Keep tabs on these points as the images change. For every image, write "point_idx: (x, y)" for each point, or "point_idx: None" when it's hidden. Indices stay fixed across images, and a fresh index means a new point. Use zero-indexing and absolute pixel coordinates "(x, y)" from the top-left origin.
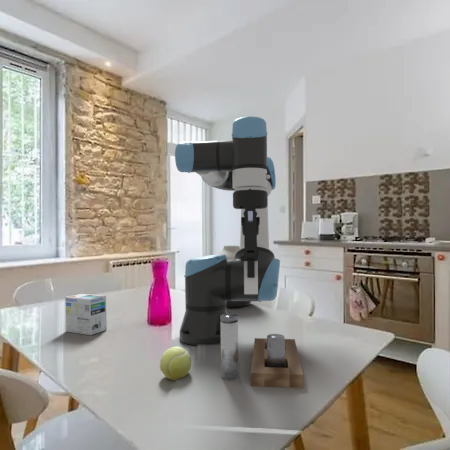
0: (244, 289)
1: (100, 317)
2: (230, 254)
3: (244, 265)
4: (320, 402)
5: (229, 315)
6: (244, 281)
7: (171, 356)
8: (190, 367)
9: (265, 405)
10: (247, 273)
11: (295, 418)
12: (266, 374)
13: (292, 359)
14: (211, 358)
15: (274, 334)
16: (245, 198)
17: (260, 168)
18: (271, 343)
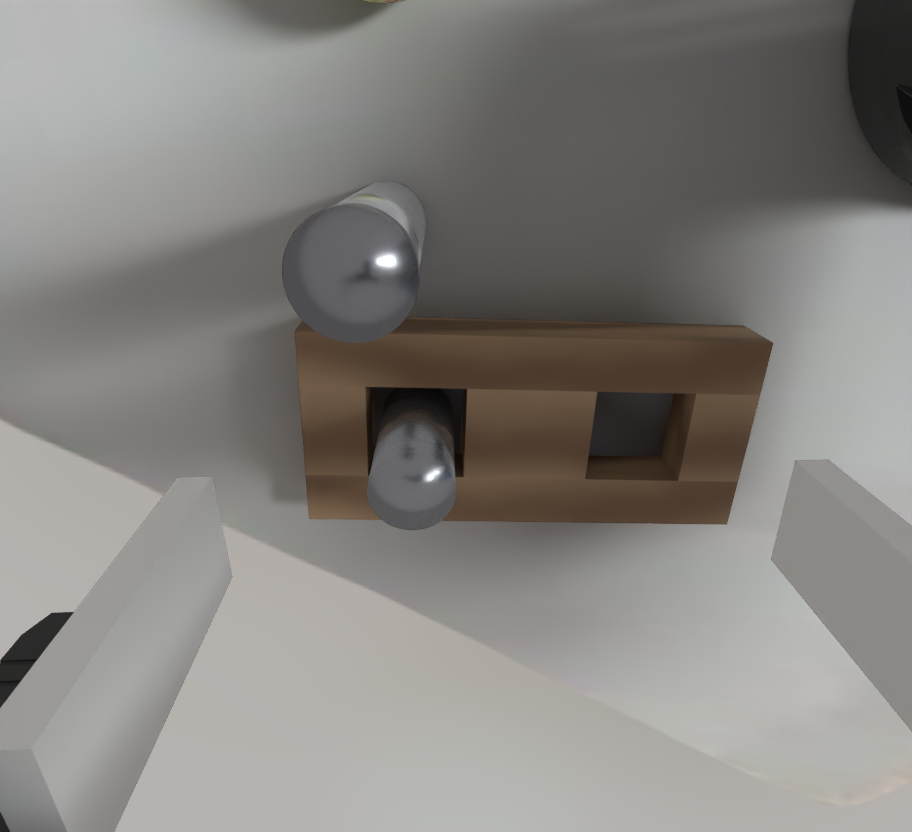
0: (157, 503)
1: None
2: None
3: (13, 698)
4: (245, 525)
5: (362, 278)
6: (126, 550)
7: None
8: (383, 2)
9: (184, 366)
10: (8, 652)
11: (125, 450)
12: (300, 392)
13: (461, 496)
14: (644, 96)
15: (447, 488)
16: None
17: None
18: (374, 461)
